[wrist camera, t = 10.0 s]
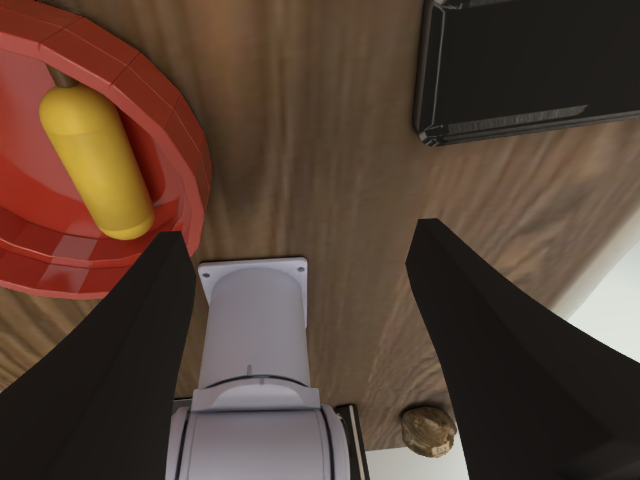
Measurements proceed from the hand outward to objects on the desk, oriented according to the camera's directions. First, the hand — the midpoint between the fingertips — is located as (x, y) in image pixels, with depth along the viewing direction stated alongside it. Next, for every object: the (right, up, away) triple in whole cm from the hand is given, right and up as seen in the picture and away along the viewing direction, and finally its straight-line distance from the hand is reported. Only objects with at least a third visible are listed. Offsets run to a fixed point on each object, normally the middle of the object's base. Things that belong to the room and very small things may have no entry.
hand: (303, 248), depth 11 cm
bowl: (-13, +5, +8) cm, 16 cm away
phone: (+13, +10, +7) cm, 18 cm away
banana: (-12, +4, +6) cm, 14 cm away
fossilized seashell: (+16, -26, +42) cm, 52 cm away
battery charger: (+3, -24, +39) cm, 46 cm away
